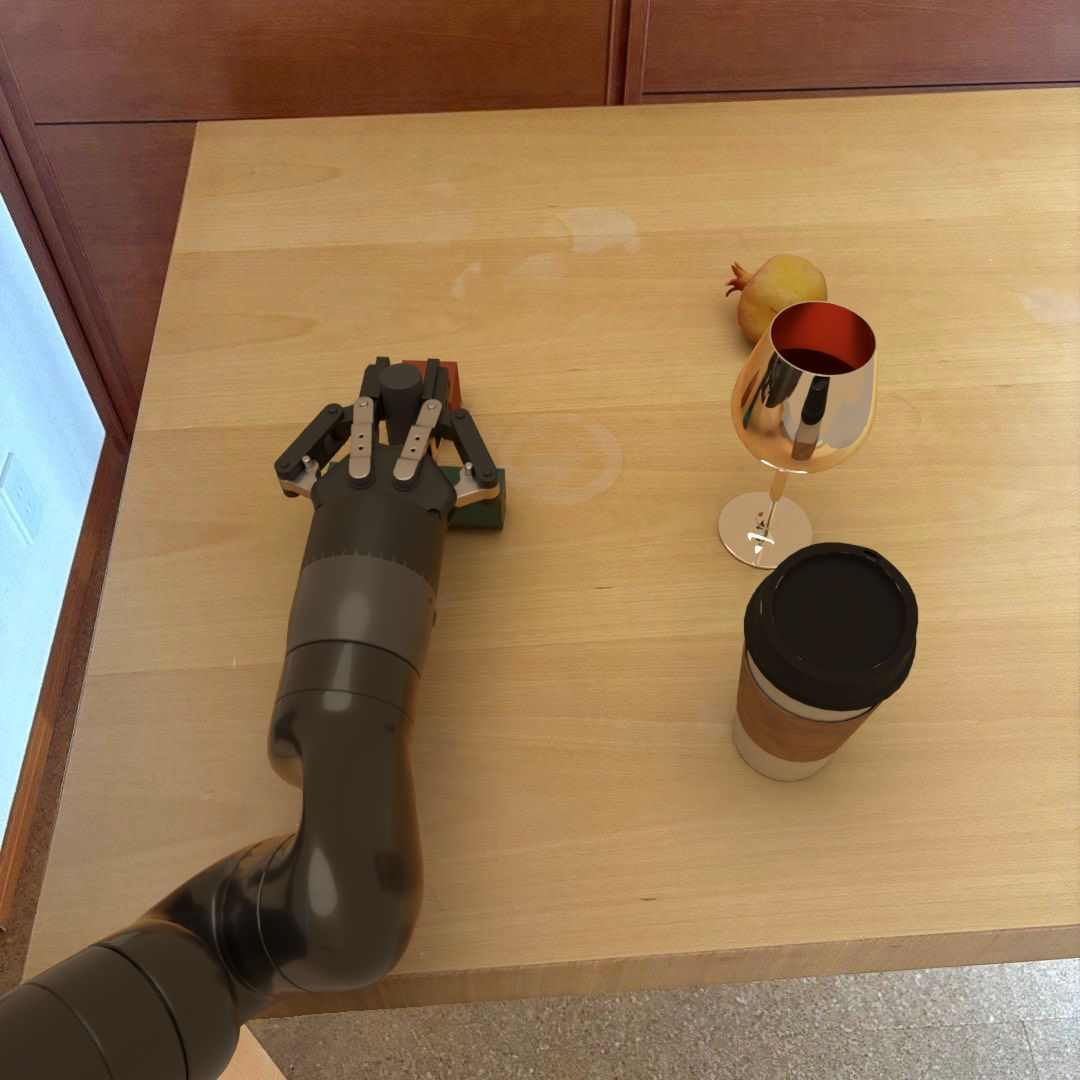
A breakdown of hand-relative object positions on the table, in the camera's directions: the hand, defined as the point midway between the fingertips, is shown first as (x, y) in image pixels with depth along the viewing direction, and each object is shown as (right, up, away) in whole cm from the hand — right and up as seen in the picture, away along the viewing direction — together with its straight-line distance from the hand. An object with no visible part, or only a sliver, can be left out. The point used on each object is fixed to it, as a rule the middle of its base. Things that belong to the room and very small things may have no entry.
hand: (409, 367), depth 64 cm
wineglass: (+24, -10, +5) cm, 26 cm away
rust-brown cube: (0, -2, +11) cm, 11 cm away
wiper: (0, -9, +5) cm, 11 cm away
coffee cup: (+23, -23, -4) cm, 33 cm away
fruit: (+27, +5, +15) cm, 31 cm away
